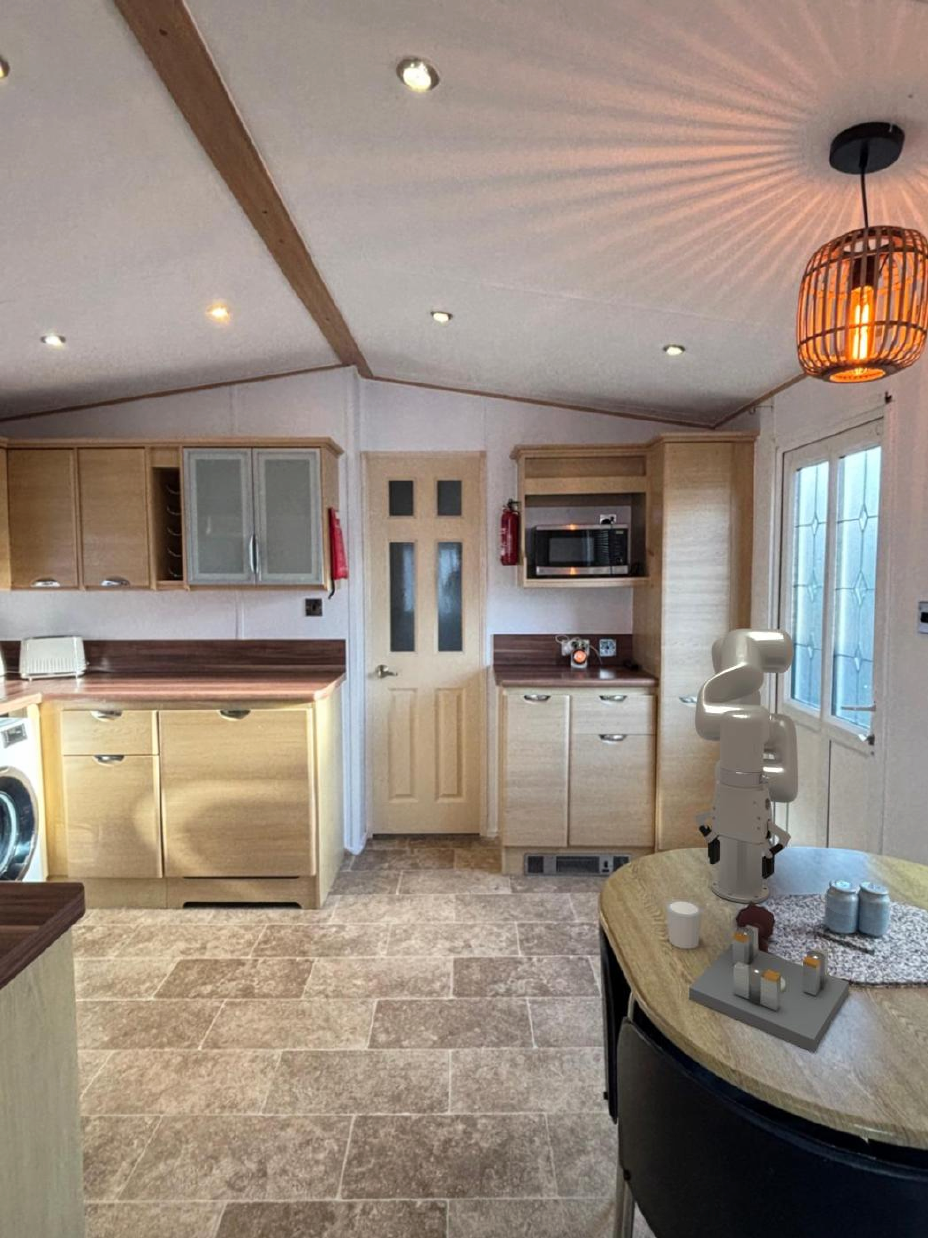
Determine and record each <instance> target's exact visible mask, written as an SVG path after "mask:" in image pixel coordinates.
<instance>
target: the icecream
mask: <svg viewBox="0 0 928 1238" xmlns="http://www.w3.org/2000/svg"><path fill="white" fill-rule="evenodd" d="M735 921H736V925H737V927H738V928H741V927H746V926H747V925H750V926H753V927H756V928H758V950H760V951H763V952H766V953H768V952H769V946H768V943H767V940H768V939H769V938H771V936H772V935H773V933H774V928H775V923H776V919H775V914H774V913H773V912H771V911H770V910H768V909H767V908H766V907H763V906H760V905H759V906H758V905H757V903H753V902H752V901H750V902H749V903H747V905H746V907H742V908H741V909H740V910H739V912H738V914H737V915H736V917H735ZM768 954H769V953H768Z"/></svg>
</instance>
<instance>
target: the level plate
mask: <svg viewBox="0 0 928 1238" xmlns="http://www.w3.org/2000/svg"><path fill="white" fill-rule="evenodd" d="M752 964H756V965H760V966H762V967H764V968H765V969H766V972H767V971H768V969H769V970H772V971H775V972H777V973H780V974H781V1005H780V1006H779V1008H778V1009H777V1011H776V1010H773V1009H771V1008H769V1007H766V1006H764V1005H761V1004H755V1003H753V1002H751V1001H750V1000H749V999H746V998H744V997H742V996H739V995H737V994H734V993H733V991H734V966H735V965H733V942H732V943H731V945H729V946H728V948H726V950H724V951H723V953H721V954H720V955H719V957H717V959H716V960H715V961H714V962H713V963H712V964H711V965H710V966H709V967H707V969H706V970H705V971H704V972H703V973H702V974H701V975H700V976H699V977H698V978H697V979H696V980H695V981H694V982H693V983H692V984H691V985H690V986H689V987H688V991H689V993H688V996H689V997H688V999H689V1000H692V1001H694V1002H696V1003H698V1002H699V1003H698V1004H701V1005H703V1006H705V1007H708V1008H710V1009H713V1010H715V1011H716V1012H719V1013H722V1014H724V1015H727V1016H729V1017H731V1018H733V1019H735V1020H737V1021H740V1022H743V1023H744V1024H746V1025H749V1026H752V1027H753V1028H756V1029H759V1030H760V1031H763V1032H765V1033H768V1034H770V1035H773V1036H775V1037H778V1038H779V1039H782V1040H784V1041H786V1042H789V1043H790V1044H794V1045H796V1046H798V1047H800V1048H802V1049H805V1050H807V1051H810V1052H811V1053H814V1052H815V1051H816V1049H817V1048H818V1046H819V1044H820V1042H821V1041H822V1039H823V1037H824V1036H825V1034H826V1032H827V1031H828V1029H829V1027H830V1026H831V1024H832V1022H833V1020H834V1019H835V1017H836V1015H837V1014H838V1012H839V1010H840V1008H841V1007H842V1005H843V1004H844V1002H845V1000H846V999H847V996H848V995H849V993H850V990H849V989H850V981H847V980H843V979H842V978H839V977H835V976H832V975H830V974H828V978H827V979H826V981H825V987H824V988H823V989H820V990H819V991H818V993H817V994H816V996H815V995H812V994H810V993H807V992H805V991H803V964H799V963H796V962H793V961H790V960H788V959H784V958H782V957H779V956H776V955H774V954H771V953H766V952H763V951H760V950H759V949H758V953H757V954H756V955H755V956H754V961H753V962H750V963H748V964H747V965H752Z"/></svg>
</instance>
